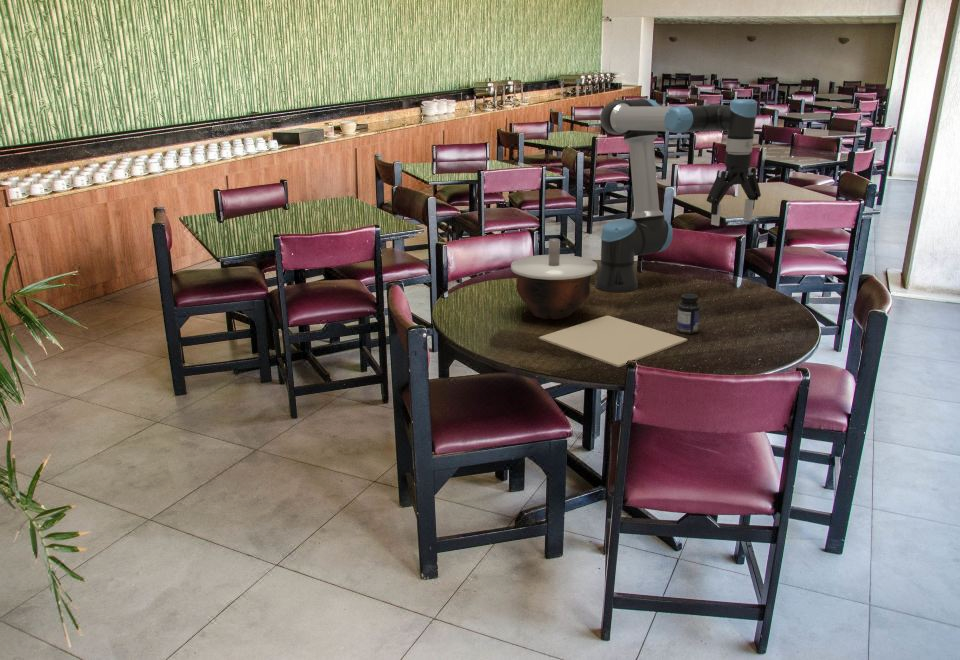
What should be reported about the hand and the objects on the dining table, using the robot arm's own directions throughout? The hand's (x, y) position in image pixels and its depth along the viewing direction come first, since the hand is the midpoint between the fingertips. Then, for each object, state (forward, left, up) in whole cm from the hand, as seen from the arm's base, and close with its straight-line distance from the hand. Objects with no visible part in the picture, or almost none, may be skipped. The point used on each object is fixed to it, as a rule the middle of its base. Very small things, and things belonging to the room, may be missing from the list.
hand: (731, 222), depth 237 cm
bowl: (-34, -43, -29) cm, 62 cm away
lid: (-34, -43, -13) cm, 57 cm away
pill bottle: (+5, -26, -29) cm, 39 cm away
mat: (-5, -48, -28) cm, 56 cm away
